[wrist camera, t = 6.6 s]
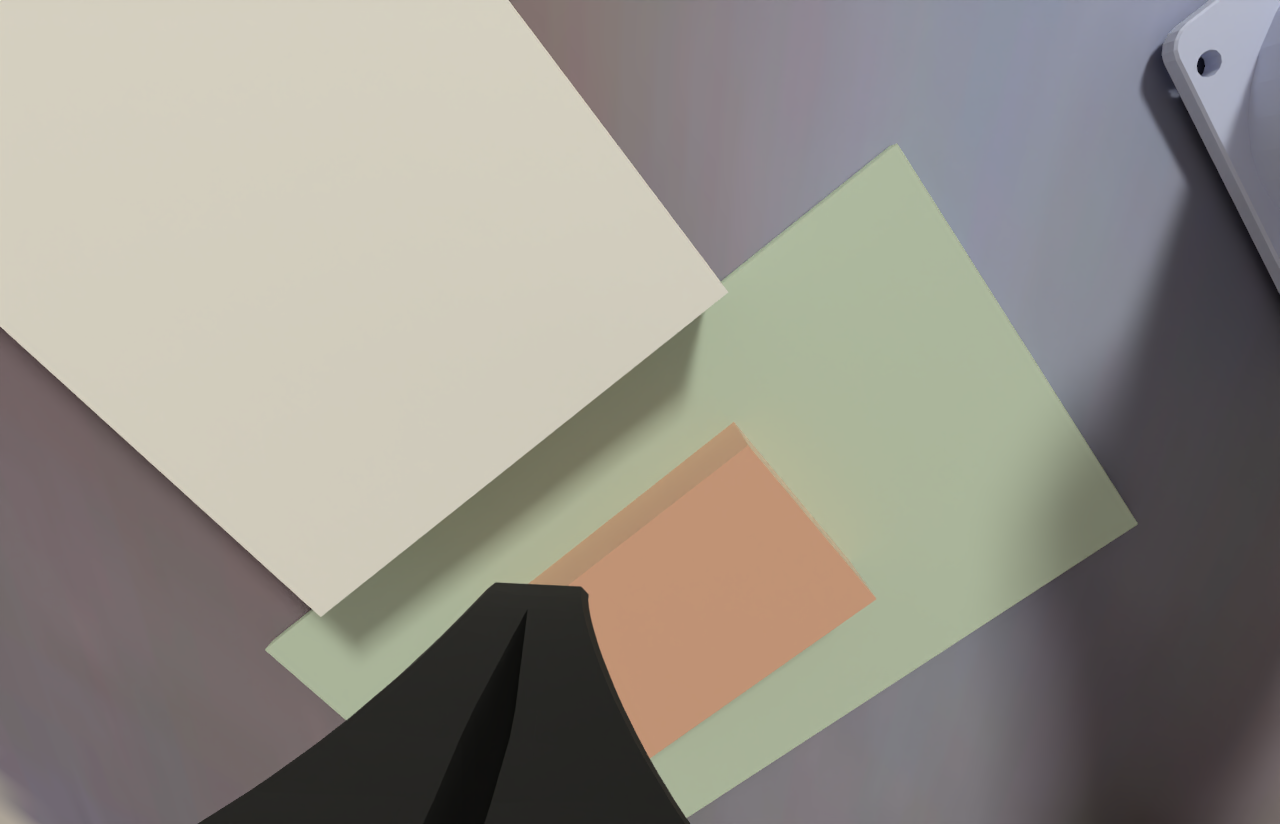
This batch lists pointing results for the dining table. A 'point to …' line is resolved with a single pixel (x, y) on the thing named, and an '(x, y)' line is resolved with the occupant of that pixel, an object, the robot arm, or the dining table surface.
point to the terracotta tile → (707, 587)
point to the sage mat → (788, 473)
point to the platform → (323, 254)
